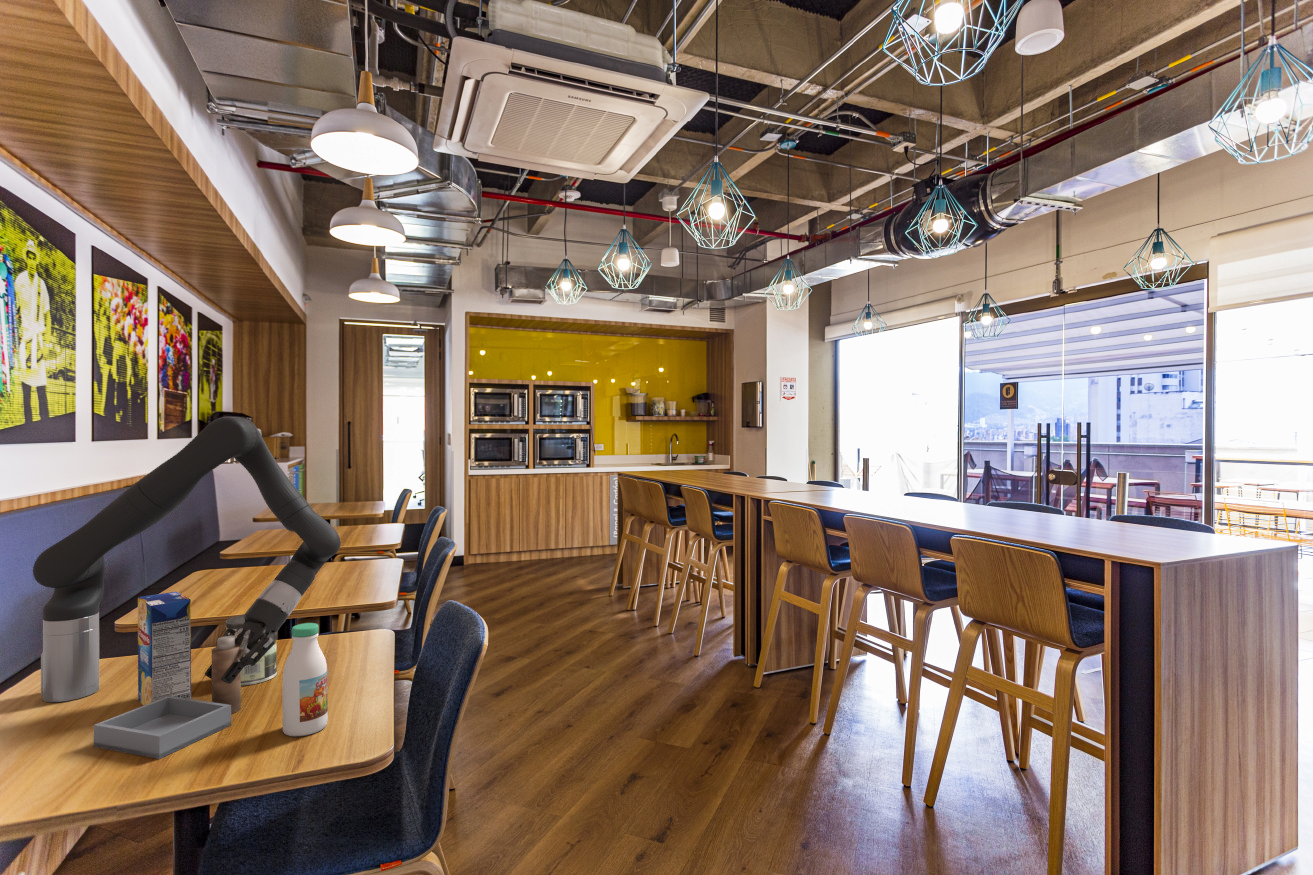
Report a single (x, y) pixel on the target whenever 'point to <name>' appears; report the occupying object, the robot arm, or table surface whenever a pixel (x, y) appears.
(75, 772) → the table surface
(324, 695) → the milk bottle
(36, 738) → the table surface
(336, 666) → the table surface
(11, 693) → the table surface
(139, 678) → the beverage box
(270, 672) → the coffee can
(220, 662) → the brown bottle
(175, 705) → the grey bin
